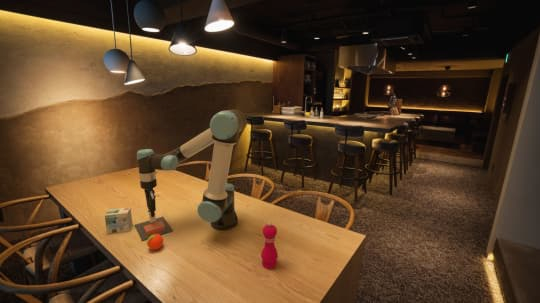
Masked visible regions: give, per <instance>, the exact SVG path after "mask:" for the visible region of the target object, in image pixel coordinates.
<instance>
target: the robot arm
mask: <svg viewBox="0 0 540 303" xmlns="http://www.w3.org/2000/svg"><path fill="white" fill-rule="evenodd" d="M246 121H247V120H246V117H245V114H244V113H243V112H241V111H240V110H239V109H234V108H233V109H228V110H222V111H219V112H217V113H215V114H214V115H213V117H212V118H211V119H210V122H209V128H207V129H206V130H204V131H202V132H201V133H199V134H198V135H195V137H192V138H191V139H190V140H188V141H187V142H185V143H184V144H182V145H181V146H178V147H177V148H175V149H173V150H171V151H169V152H167V153H165V154H157V153H155V152H154V150H153V149H152V148H145V149H143V148H142V149H139V150H138V151H137V152H136V160H137V167H138V177H139V183H140V189H142V190H143V191H144V195H145V200H146V202H145V203H146V207H147V213H148V217H149V220H150V223H151V222H155V221H156V218H157V217H156V211H157V206H156V203H157V202H156V198H157V197H156V194H155V193H156V192H155V190H154V188H156V187H157V185H158V184H157V183H158V182H157V181H158V180H157V175H156V174H157V173H158V172H157V171H156V170H159V171H167V172H169V171H170V172H171V171H172V172H173V171H175V170H177V167H178V165H179V164H180V163H184V162H185V161H186V160H187V159H189V158H191V157H192V156H194V155H196V154H197V153H199V152H201V151H203V150H204V149H206V148H207V147H209V146H211V145H212V144H213V149H212V150H213V151H212V158H211V162H210V163H211V164H210V170H209V175H208V176H209V177H208V182H207V188H206V189H204V191H203V193H202V201H201V202H199V204H198V205H197V215H198V216H199V217H200V218H201V220H203V221H204V222H206V223H210V226H211V227H212V228H213V229H215V230H218V231H226V230H230V229H233V228H235V227H236V226H238V223H239V219H238V218H239V217H238V215H237V213H236V212H237V211H236V210H235V187H234V184H232V183H228V178H229V177H228V176H229V171H230V165H231V160H232V155H233V154H232V153H233V149H234V146H235V145H236V144H237V143H238V139H239V135H240V133H241V132H242V131H243V130H244V128H245V126H246V123H247V122H246Z"/></svg>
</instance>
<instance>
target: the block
mask: <svg viewBox="0 0 540 303" xmlns="http://www.w3.org/2000/svg"><path fill="white" fill-rule="evenodd" d="M164 230H165V225H164V224H163V222H162V221H160V222H156V223H153V224H150V225H146V226H144V231H145V233H146V235H147V236H149V235H152V234H155V233H158V232H161V231H164Z"/></svg>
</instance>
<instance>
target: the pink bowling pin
mask: <svg viewBox="0 0 540 303" xmlns="http://www.w3.org/2000/svg"><path fill="white" fill-rule="evenodd" d="M262 234H263V240H264V241H263V242H264V246H263V248H262V250H261V252H260V258H261V265H262V267H263V268H264V269H266V270H272V269H274V268H275V267H277V263H278V262H277V259H278V257H279V254H278V251H277V248H276V245H275V242H276V240H277V239H276V235H277V234H278V229H277V227H276V226H275V225H273V223H272V222H271V221H269V222H267V224H266V225H264V227H263V228H262Z"/></svg>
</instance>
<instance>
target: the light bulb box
mask: <svg viewBox="0 0 540 303" xmlns="http://www.w3.org/2000/svg"><path fill="white" fill-rule="evenodd" d="M104 221H105V228H106V234H107V235H109V234H119V233H129V232H130V231H131V230H132V228H133V225H134V224H133V216H132V208H131V207H121V208H112V209H110V208H109V209H108V210H107V212H106V213H105V214H104Z"/></svg>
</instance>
